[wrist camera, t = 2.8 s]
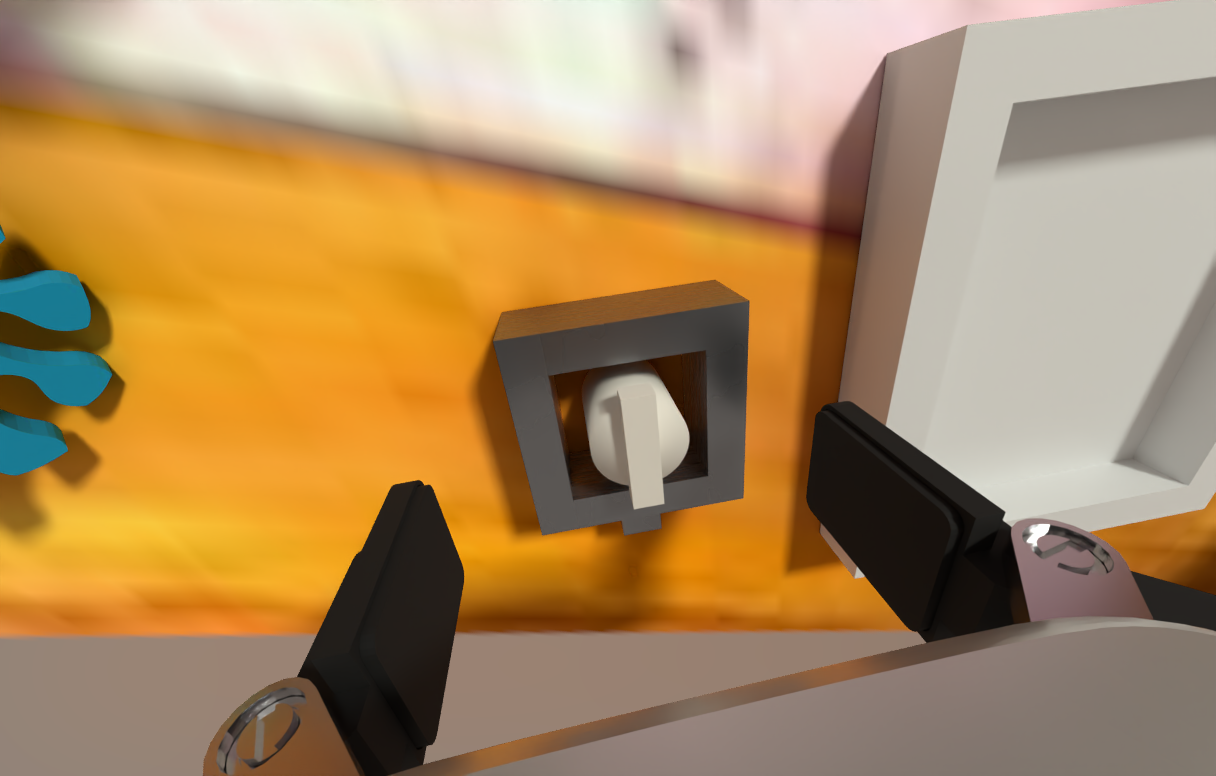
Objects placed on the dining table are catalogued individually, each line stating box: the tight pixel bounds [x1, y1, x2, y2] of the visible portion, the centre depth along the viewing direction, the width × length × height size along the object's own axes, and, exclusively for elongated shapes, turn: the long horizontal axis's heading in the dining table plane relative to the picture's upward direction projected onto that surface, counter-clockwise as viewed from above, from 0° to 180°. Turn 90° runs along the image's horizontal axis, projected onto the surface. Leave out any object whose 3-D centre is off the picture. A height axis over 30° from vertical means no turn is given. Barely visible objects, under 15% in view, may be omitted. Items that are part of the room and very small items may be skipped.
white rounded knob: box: [582, 360, 689, 509], centre depth 13 cm, size 3×4×4 cm
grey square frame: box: [493, 280, 749, 535], centre depth 14 cm, size 7×8×3 cm
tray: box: [820, 0, 1216, 578], centre depth 15 cm, size 16×18×2 cm
